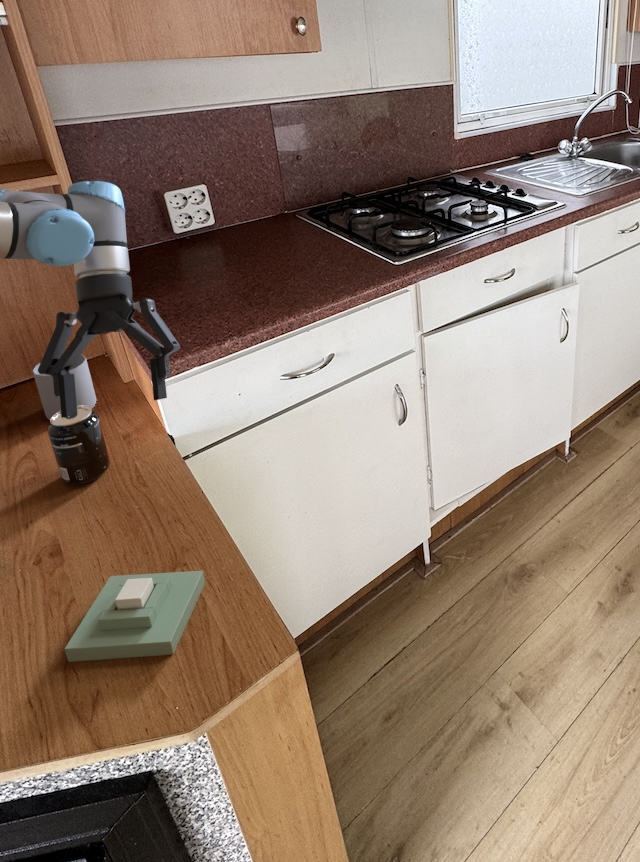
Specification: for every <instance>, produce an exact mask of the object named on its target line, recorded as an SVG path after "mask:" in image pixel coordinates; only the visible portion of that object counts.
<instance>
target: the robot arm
mask: <svg viewBox="0 0 640 862" xmlns="http://www.w3.org/2000/svg"><path fill="white" fill-rule="evenodd" d="M126 225H127V224H126V208H125V204H124V198H123V194H122V191H121V189H120V188H119V187H118V185H116V184H114V183H111V182H107V181H103V180H102V181H101V180H93V181H88V180H87V181H86V180H85V181H79V182H75V183H72V184H71V185H69V186H68V187H67V192H66V193H49V192H48V193H46V192H34V191H21V190H8V189H6V188H2V189H0V259H2V260H3V259H4V260H6V259H7V260H36V261H37V262H39V263H41V264H45V265H49V266H53V267H68V266H71V265H73V272H74V276H75V277H77V278H78V279H76V281H75V282H74V283H75V296H76V302H77V304H78V310H77V311H71V312H68V311H59V312H57V314H56V316H55V328H54V329H53V332H52V334H51V337H50V339H49V342H48V344H47V347H46V349H45V352H44V353H43V356H42V358H41V361H40V362H39V363H40V366H39V368H38V372H39V373H40V374H49V375H51V376H52V377H53V384H54V394H55V396H60V404H61V417H62V418H63V417H68V416H73V415H77V402H76V390H75V378H74V374H70V372H69V370H70V369H71V368H72V366H73V365H74V363H75V362H76V361H77V359H78V358H79V356H80V355H81V354H82V355H83V352H84V351H85V350H86V348H87V346H88V345H89V344H90V342H91V341H92V340H93V339H95V338H96V337H97V335H100V336H101V335H107V334H110V333H118V332H123V331H124V332H126V333H127V334H128V335H129V336H131V337H132V338H133V339H134V340H135V341H136V342H138V343H139V344H140V345H141V346H143V348H145V349H146V350H147V351H148V352H149V353H151V354H152V355H153V358H150V359H149V365H150V366H149V367H150V375H151V385H152V394H153V401H160V400H163V399H167V398H168V395H167V385H166V378H167V377H170V374H171V370H170V368H171V367H170V359H169V358H170V356H171V354H173V353H176V352H178V351H180V350H181V345H180V343H179V342H178V340H177V339H176V337H175V336H174V335H173V333H172V332H171V330H170V329H169V328H168V326H167V324H166V322H165V321H164V320H163V318H161V316H160V314H159V313H158V312H157V307H156V303H155V300H154V299H152V298H144V297H143V298H140V299H139V300H138V301H135V302H134V300H133V286H132V277H131V276H130V275H129V273H130V271H131V266H130V257H129V249H128V248H129V247H128V239H127V227H126ZM136 311H137V312H138V313H139V314H141V315H142V317H143V318H144V319H145V321H146V322H147V324H148V326H149V327H150V328H151V330H152V331H153V333H154V334H155V336H156V337H157V338H158V340H159V341H158V340H157V339H155V338H154V337H153V336H152V335H151V334H149V333H148V332H147V331H146V330H145V329H144V328H142V326H141V325H140V323H138V322H137V321H136V320H135V319H133V316H134V314H135V313H136ZM78 322H79V323H80V324H81V325H80V326H79V328H77V331H76V332H75V334H74V335H75V336H74V337H73V339H72V340H71V342H70V343H69V345H68V346H67V344H68V342H69V340H70V337H71V335H72V332H73V329H74V326H75V325H76V324H77V323H78Z"/></svg>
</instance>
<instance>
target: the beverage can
mask: <svg viewBox="0 0 640 862" xmlns="http://www.w3.org/2000/svg"><path fill="white" fill-rule="evenodd" d="M99 417H100V416H99V414H98V413H97V412H96V411H94V410H93V408H92V409H91V407H90V406H87V405H77V415H73V416H68V417H63V418H62V417H61V411H59V412H57V413H56V414H54V415H53V416H52V417H51V419H49V423H50V424H49V426H48V427H47V434H48V437H49V441H50V444H51V447H52V451H53V455H54V458H55V462H56V464H57V469H58V471H59V475H60V478H61V480H62V482H63V483H65V484H68V485H84V484H88V483H91V482H93V481H95V480H97V479H98V478H100V477H101V476H102V475H103V474H104V473H105V472H106V471H107V470H108V469H109V467H110V464H111V462H110V461H111V460H110V456H109V453H108V448H107V444H106V441H105V437H104V433H103V429H102V424H101V421H100V418H99Z"/></svg>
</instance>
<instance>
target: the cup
mask: <svg viewBox="0 0 640 862" xmlns="http://www.w3.org/2000/svg"><path fill="white" fill-rule="evenodd" d="M40 363H41V362H39V363H37V364H36V365H35V366H34V367H33V369H32V373H33V376H34V380H35V385H36V387H37V391H38V394H39V398H40V401H41V405H42V408H43V413H44V415H45V417H46V418H47V420H50V419H51V417H52V416H53V415H54V414H56V413H57V412H59V411H61V404H60V396H55V394H54V384H53V377H52V376H51V375H49V374H40V373H39V372H38V368H39V366H40ZM69 372H70V374H74V378H75V390H76V402H77V405H87V406H90V407H91V409H92V410H93V409H94V407H96V405H95V404H97V402H96V401H98V399H97V396H96V392H95V388H94V384H93V380H92V375H91V372H90V368H89V363H88V361H87V357H86V356H85V355H84V354H83V353H82V354H81V355H80V356H79V358H78V359H77V361H76V362H75V363H74V365H73V366H72V368H71V369H70V370H69Z"/></svg>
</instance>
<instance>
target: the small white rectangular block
mask: <svg viewBox="0 0 640 862" xmlns="http://www.w3.org/2000/svg"><path fill="white" fill-rule="evenodd" d="M153 589H154V585H153V581H152V578H140V579H127V581H126V582H125V584H124V586H123V588H122V589H121V591H120V593H119V594H118V596H117V598H116V599H115V602H116V606H117V609H118V610H130V609H143V607H144V606H145V604H146V602H147V600H148V598H149V596H150V594H151V593H152V591H153Z"/></svg>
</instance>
